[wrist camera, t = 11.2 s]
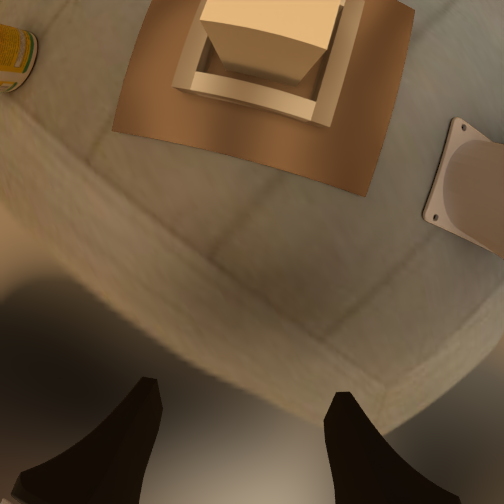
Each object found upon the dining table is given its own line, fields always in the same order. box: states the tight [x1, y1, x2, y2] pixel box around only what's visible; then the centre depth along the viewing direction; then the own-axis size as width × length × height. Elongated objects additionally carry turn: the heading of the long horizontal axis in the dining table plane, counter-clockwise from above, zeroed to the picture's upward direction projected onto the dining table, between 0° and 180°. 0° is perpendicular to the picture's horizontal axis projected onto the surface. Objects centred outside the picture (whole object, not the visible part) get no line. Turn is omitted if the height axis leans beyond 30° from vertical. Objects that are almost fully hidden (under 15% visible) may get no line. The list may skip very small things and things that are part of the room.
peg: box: [200, 0, 341, 87], centre depth 10 cm, size 4×4×8 cm
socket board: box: [112, 0, 415, 197], centre depth 13 cm, size 16×14×4 cm
